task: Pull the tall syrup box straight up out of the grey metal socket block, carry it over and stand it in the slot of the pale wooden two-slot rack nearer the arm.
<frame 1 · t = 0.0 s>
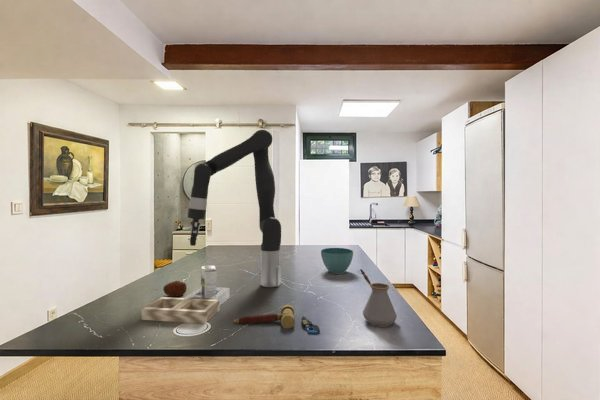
hand: (192, 243, 134), 22 cm above the counter, tool pointing down, fingers open, 8 cm apart
coffee pot: (372, 317, 110), on the counter
socket block: (208, 301, 125), on the counter
micrometer: (309, 327, 102), on the counter
syrup box: (208, 302, 125), resting in socket block
gavel: (264, 323, 105), on the counter
rack: (181, 314, 111), on the counter
potato: (174, 296, 132), on the counter
teal bowl: (336, 272, 171), on the counter
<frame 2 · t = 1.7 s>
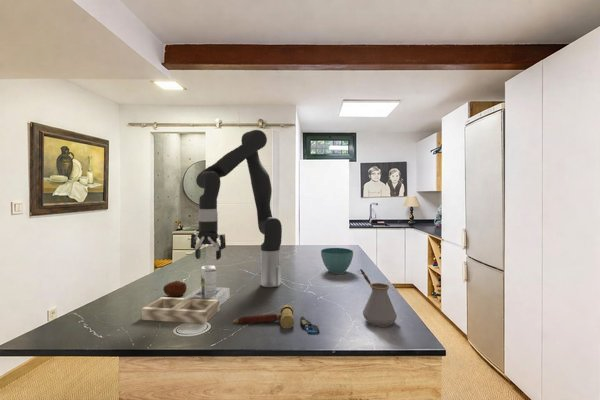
hand: (208, 258, 124), 18 cm above the counter, tool pointing down, fingers open, 8 cm apart
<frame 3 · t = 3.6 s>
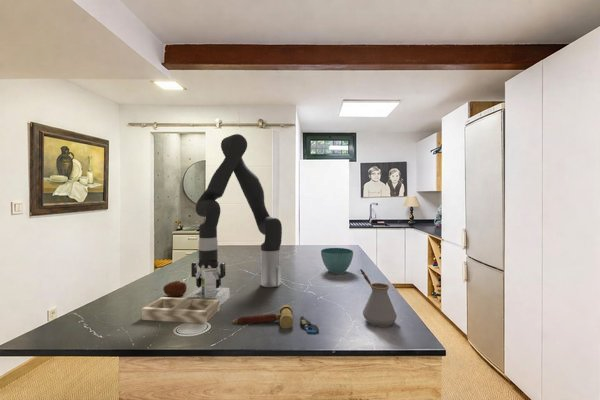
hand: (208, 287, 125), 6 cm above the counter, tool pointing down, fingers closed on syrup box, 7 cm apart
syrup box: (208, 302, 125), resting in socket block, touching gripper
everything else where it was.
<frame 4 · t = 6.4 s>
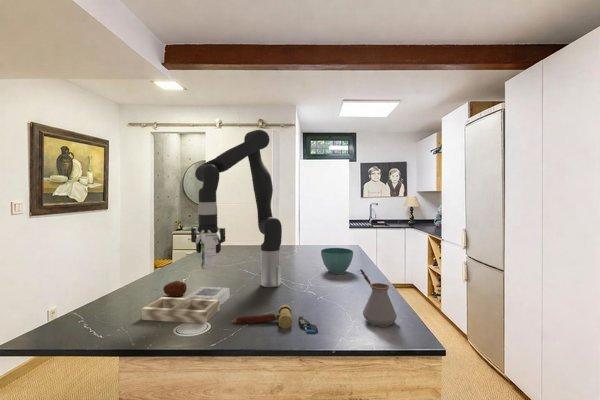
hand: (208, 252, 124), 20 cm above the counter, tool pointing down, fingers closed on syrup box, 7 cm apart
syrup box: (208, 267, 124), point 14 cm above the counter, touching gripper
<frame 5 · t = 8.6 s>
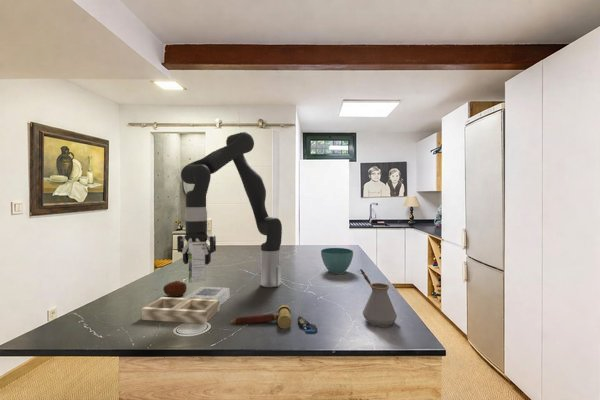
hand: (196, 263, 110), 19 cm above the counter, tool pointing down, fingers closed on syrup box, 7 cm apart
syrup box: (197, 280, 110), point 13 cm above the counter, touching gripper
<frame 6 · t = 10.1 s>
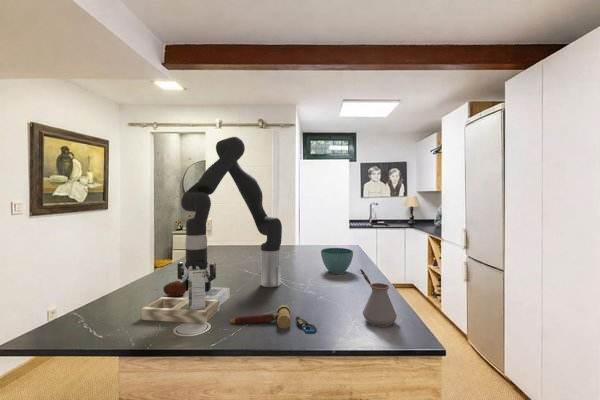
hand: (196, 291, 110), 9 cm above the counter, tool pointing down, fingers closed on syrup box, 7 cm apart
syrup box: (197, 307, 111), point 3 cm above the counter, touching gripper
when the fingers open (7 cm above the counter, at t = 11.7 s): syrup box drops 1 cm, resting in rack.
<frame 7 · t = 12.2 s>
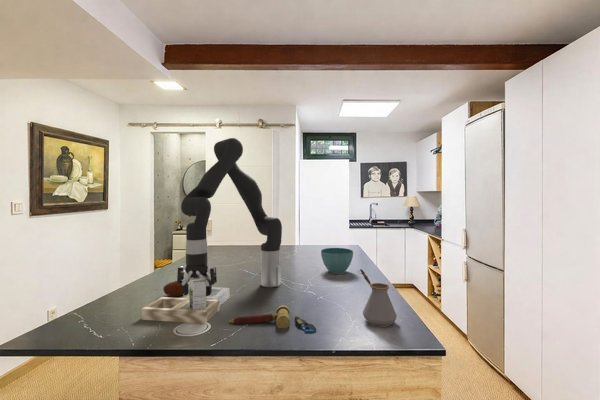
hand: (197, 295, 110), 8 cm above the counter, tool pointing down, fingers open, 8 cm apart
syrup box: (198, 316, 111), resting in rack
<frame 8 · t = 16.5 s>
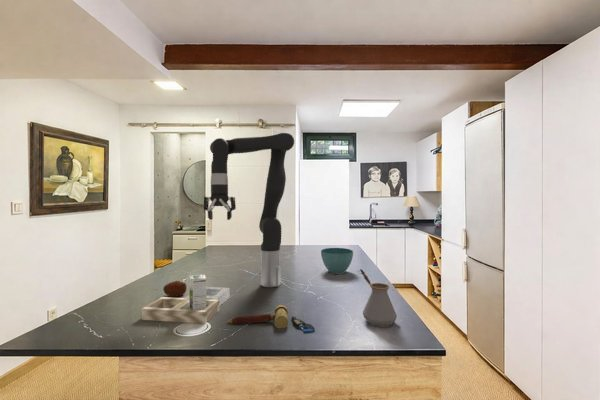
hand: (219, 219, 136), 33 cm above the counter, tool pointing down, fingers open, 8 cm apart
at the end: syrup box 0.3 cm from the target spot on the rack, point 0.0 cm above the rack's base; syrup box tilted 0°; the gripper is holding nothing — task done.
